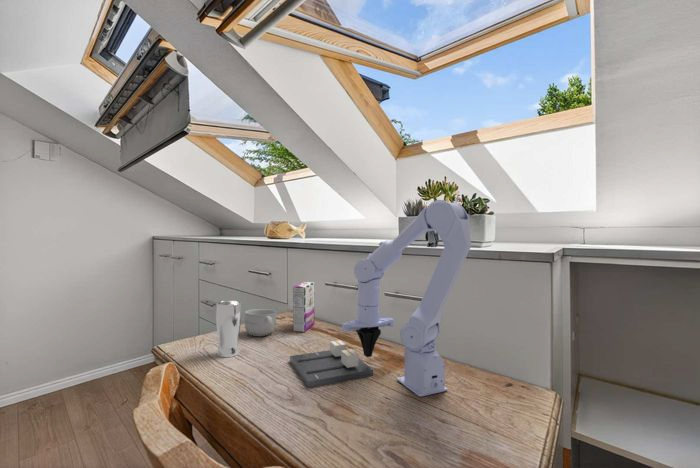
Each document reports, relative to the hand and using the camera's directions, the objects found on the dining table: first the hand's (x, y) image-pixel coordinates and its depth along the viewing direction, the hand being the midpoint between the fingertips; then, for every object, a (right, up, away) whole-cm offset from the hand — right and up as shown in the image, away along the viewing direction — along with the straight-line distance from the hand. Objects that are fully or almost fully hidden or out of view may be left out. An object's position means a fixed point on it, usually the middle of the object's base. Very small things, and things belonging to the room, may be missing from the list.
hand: (367, 355), depth 89 cm
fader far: (-8, -1, +5) cm, 10 cm away
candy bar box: (-22, -3, +36) cm, 42 cm away
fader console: (-10, -3, 0) cm, 11 cm away
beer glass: (-40, -3, +9) cm, 41 cm away
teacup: (-35, -3, +27) cm, 44 cm away
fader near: (-5, -1, -2) cm, 5 cm away
